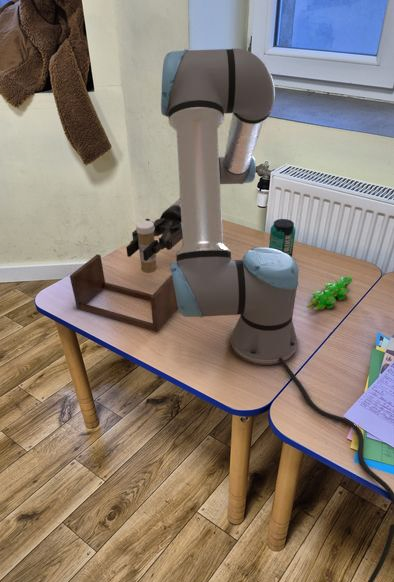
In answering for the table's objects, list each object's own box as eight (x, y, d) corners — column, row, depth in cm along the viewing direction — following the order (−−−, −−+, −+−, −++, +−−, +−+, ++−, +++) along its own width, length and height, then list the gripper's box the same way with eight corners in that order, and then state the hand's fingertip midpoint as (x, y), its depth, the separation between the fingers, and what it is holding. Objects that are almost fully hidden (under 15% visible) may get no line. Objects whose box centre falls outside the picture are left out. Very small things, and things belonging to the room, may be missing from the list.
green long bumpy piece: (358, 290, 127) (361, 277, 125) (319, 318, 118) (322, 304, 115) (337, 281, 131) (340, 268, 128) (298, 308, 122) (300, 294, 119)
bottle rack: (157, 331, 115) (154, 298, 109) (76, 308, 123) (69, 275, 117) (179, 306, 123) (178, 273, 117) (102, 285, 131) (96, 254, 125)
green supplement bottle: (291, 255, 143) (296, 218, 135) (291, 267, 138) (296, 229, 130) (268, 254, 144) (271, 217, 136) (267, 265, 138) (270, 228, 131)
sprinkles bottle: (151, 263, 131) (147, 218, 122) (160, 269, 128) (157, 224, 119) (137, 269, 129) (132, 223, 120) (147, 275, 126) (142, 229, 117)
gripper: (204, 234, 135) (167, 273, 119) (152, 224, 141) (109, 260, 125) (204, 210, 130) (165, 247, 114) (150, 200, 136) (105, 234, 120)
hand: (136, 253), depth 120 cm, fingers closed on sprinkles bottle, 4 cm apart
